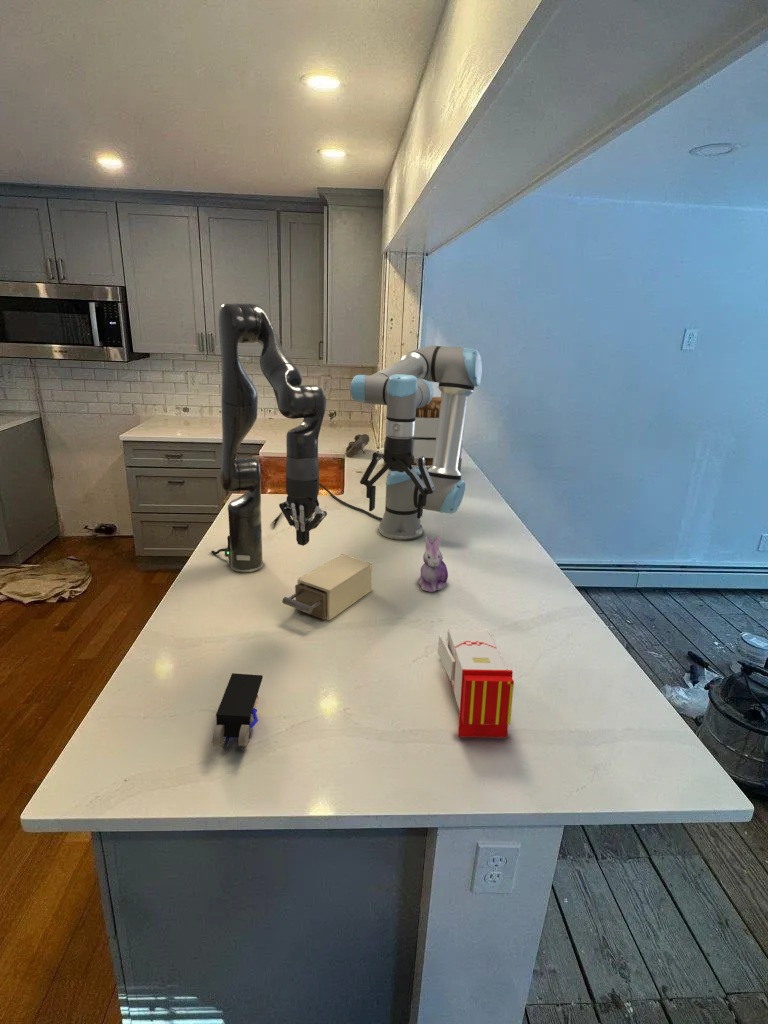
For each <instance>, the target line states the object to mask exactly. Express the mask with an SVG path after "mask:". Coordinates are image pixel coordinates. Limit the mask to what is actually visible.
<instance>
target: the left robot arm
mask: <svg viewBox="0 0 768 1024" xmlns="http://www.w3.org/2000/svg"><path fill="white" fill-rule="evenodd" d="M218 312H219V313H218V335H219V347H220V360H221V397H220V398H221V400H220V401H221V428H222V429H221V431H222V441H221V455H220V456H221V457H220V483H221V487H222V488H223V490H224V491H225V492H226V493H227V492H228V493H235V492H244V493H243V494H242V495H241V496H238V497H237V498H235V499H232V500H231V501H229V503H228V505H227V515H228V531H229V534H228V535H227V537H226V539H227V547H225V548H220V549H218V550H216V551H215V550H211V552H210V553H211V554H213V555H218V554H220V553H221V552H224V557H226V558H228V566H229V567H230V569H231V570H232V571H235V572H237V573H253V572H256V571H260V570H261V569H262V568H263V567H264V561H263V534H262V533H263V531H262V468H261V467H262V466H261V463H260V461H259V460H258V459H257V458H256V457H242V458H241V457H239V458H236V457H237V454H238V450H239V448H240V446H241V444H242V442H243V440H245V438H246V436H248V434H249V433H250V432H251V430H252V428H253V427H254V425H255V424H256V421H257V419H258V407H259V406H258V404H259V401H258V400H259V398H258V397H259V395H258V391H257V388H256V386H255V385H254V383H253V381H252V380H251V378H250V377H249V375H248V373H247V372H246V370H245V369H244V368H243V365H242V363H241V361H240V356H239V350H238V347H239V344H254V343H258V344H260V345H261V346H262V348H261V351H260V356H259V366H260V370H261V372H262V374H263V376H264V377H265V379H266V380H267V382H268V383H269V385H270V386H271V387H272V390H273V394H274V396H275V400H276V405H277V409H278V411H279V414H281V415H282V416H283V417H284V418H286V419H289V420H297V419H302V422H301V423H300V424H299V425H298V426H296V427H293V428H290V429H288V431H286V432H287V433H286V460H285V493H286V495H287V496H286V500H285V501H283V502H281V503H279V504H278V507H279V508H280V510H281V513H282V514H283V516H284V518H285V519H286V521H287V523H288V526H291V527H292V526H293V527H294V530H295V535H296V536H295V537H296V538H295V541H296V542H297V545H299V546H302V547H303V546H306V545H308V544H309V542H310V532H311V531H312V530H314V529H317V528H318V526H319V525H320V524H321V522H322V521H324V519H325V518H326V517H327V515H328V512H327V510H322V509H321V508H320V502H319V499H318V496H319V493H320V485H319V484H320V462H319V437H320V436H319V435H320V432H321V429H322V424H323V422H324V417H325V414H326V410H327V397H326V393H325V391H324V390H323V389H322V387H321V386H319V385H317V384H302V382H303V377H302V374H301V372H300V371H299V369H298V368H297V366H296V365H295V364H294V363H293V361H292V359H290V357H289V356H288V355H287V353H286V351H285V350H284V348H283V346H282V344H281V342H280V340H279V337H278V335H277V333H276V330H275V328H274V326H273V324H272V321H271V320H270V318H269V315H268V314H267V312H266V311H265V310H264V308H263V307H262V306H261V305H259V304H257V303H246V302H245V303H244V302H243V303H238V302H237V303H235V302H233V303H231V302H230V303H223V304H222V305H221V307H220V309H219V311H218Z"/></svg>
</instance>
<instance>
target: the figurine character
mask: <svg viewBox="0 0 768 1024" xmlns="http://www.w3.org/2000/svg"><path fill="white" fill-rule="evenodd" d="M263 677H264V675H263V674H252V673H251V674H250V673H237V672H235V673H234V672H232V673H231V675H230V677H229V680H228V682H227V685H226V688H225V690H224V693H223V696H222V698H221V700H220V703H219V706H218V709H217V711H216V713H215V721H216V724H215V726H214V729H213V733H212V736H211V737H212V738H211V745H212V747H221V746H222V749H223V751H226V750H227V749H228V747H229V744H230V739H231V738H232V739H237V741H238V750H239V751H241V750H243V749H244V747H247V745H248V743H249V740H250V739H251V735H252V734H251V733H252V729H253V728H254V727H255V725H256V724H257V723H258V721H259V719H258V716H257V715H258V714H257V713H258V709H257V706H258V704H259V692H260V688H261V684H262V682H263V679H264V678H263ZM251 718H253V720H252V719H251ZM223 741H224V742H223ZM222 744H223V745H222Z"/></svg>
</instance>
